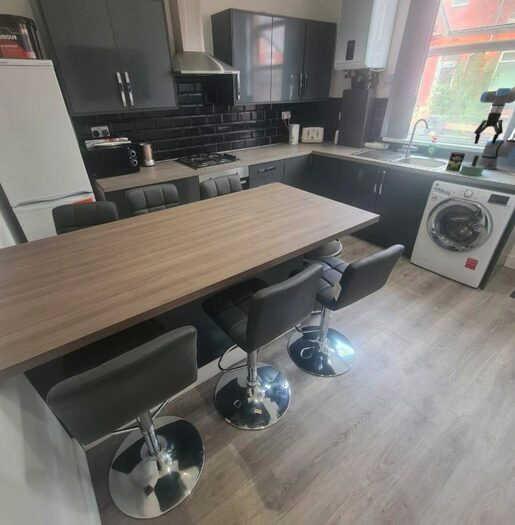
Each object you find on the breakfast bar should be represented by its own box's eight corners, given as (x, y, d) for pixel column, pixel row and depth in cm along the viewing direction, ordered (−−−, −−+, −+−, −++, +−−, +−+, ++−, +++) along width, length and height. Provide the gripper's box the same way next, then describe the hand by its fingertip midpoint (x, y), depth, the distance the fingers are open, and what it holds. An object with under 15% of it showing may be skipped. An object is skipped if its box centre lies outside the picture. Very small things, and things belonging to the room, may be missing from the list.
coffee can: (460, 172, 247) (465, 154, 240) (446, 170, 251) (451, 153, 244) (459, 169, 255) (464, 152, 247) (445, 168, 259) (450, 151, 252)
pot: (465, 171, 250) (468, 163, 247) (484, 174, 239) (487, 166, 236) (456, 173, 243) (459, 165, 240) (475, 176, 232) (478, 169, 229)
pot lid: (467, 164, 248) (471, 153, 243) (488, 167, 236) (492, 155, 232) (458, 166, 240) (462, 154, 236) (478, 170, 229) (483, 157, 224)
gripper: (482, 113, 209) (471, 144, 220) (516, 112, 210) (503, 144, 221) (475, 112, 216) (465, 143, 227) (508, 112, 217) (496, 142, 227)
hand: (484, 143), depth 224 cm, fingers open, 13 cm apart
